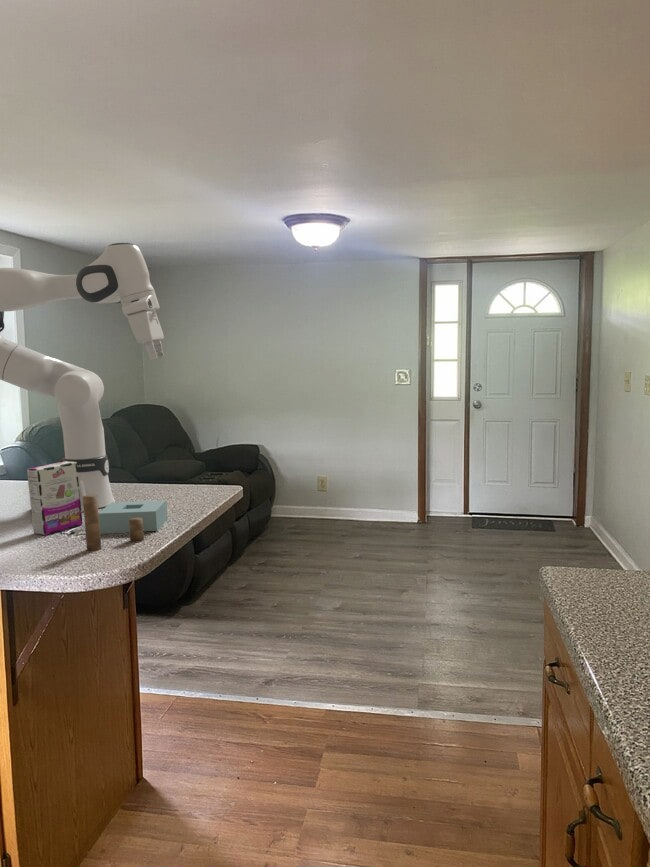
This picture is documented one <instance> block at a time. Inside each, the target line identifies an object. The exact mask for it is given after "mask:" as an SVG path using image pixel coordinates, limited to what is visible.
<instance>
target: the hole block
mask: <svg viewBox="0 0 650 867" xmlns="http://www.w3.org/2000/svg"><path fill="white" fill-rule="evenodd" d="M167 503H168V502H167V500H163V499H162V500H142V501H140V500H139V501H117V502H116V501H115V502H112V503H111V504H109V505H108V506H105V507H103V508H102V509H101V510H100V511H98V513H99V526H100V535H102V534H103V535H104V534H125V533H126V532H130V526H129V519H131V518H137V517H140V518H143V531H156V532H158V531H159V530H160V529H161V528H160V527H163V525H164V524H165V523H166V522H167V521H168V519H169V518H168V504H167ZM165 521H166V522H165ZM164 522H165V523H164Z"/></svg>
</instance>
